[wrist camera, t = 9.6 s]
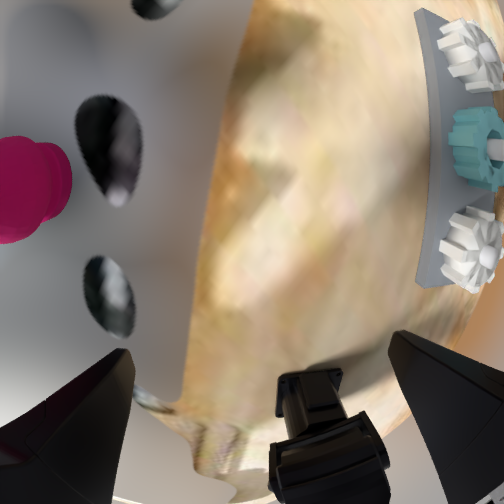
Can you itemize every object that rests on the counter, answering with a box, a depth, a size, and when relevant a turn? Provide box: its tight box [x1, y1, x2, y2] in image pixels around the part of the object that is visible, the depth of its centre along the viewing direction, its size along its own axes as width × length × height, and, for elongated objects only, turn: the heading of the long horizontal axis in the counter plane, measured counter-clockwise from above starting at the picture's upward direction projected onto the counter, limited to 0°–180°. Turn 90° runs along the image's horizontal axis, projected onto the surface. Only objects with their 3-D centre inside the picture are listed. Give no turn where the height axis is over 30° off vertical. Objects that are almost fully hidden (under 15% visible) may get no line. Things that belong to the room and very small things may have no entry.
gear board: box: [414, 8, 504, 294], centre depth 15 cm, size 26×9×6 cm, turn 0°
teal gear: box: [448, 106, 504, 192], centre depth 15 cm, size 7×7×3 cm
